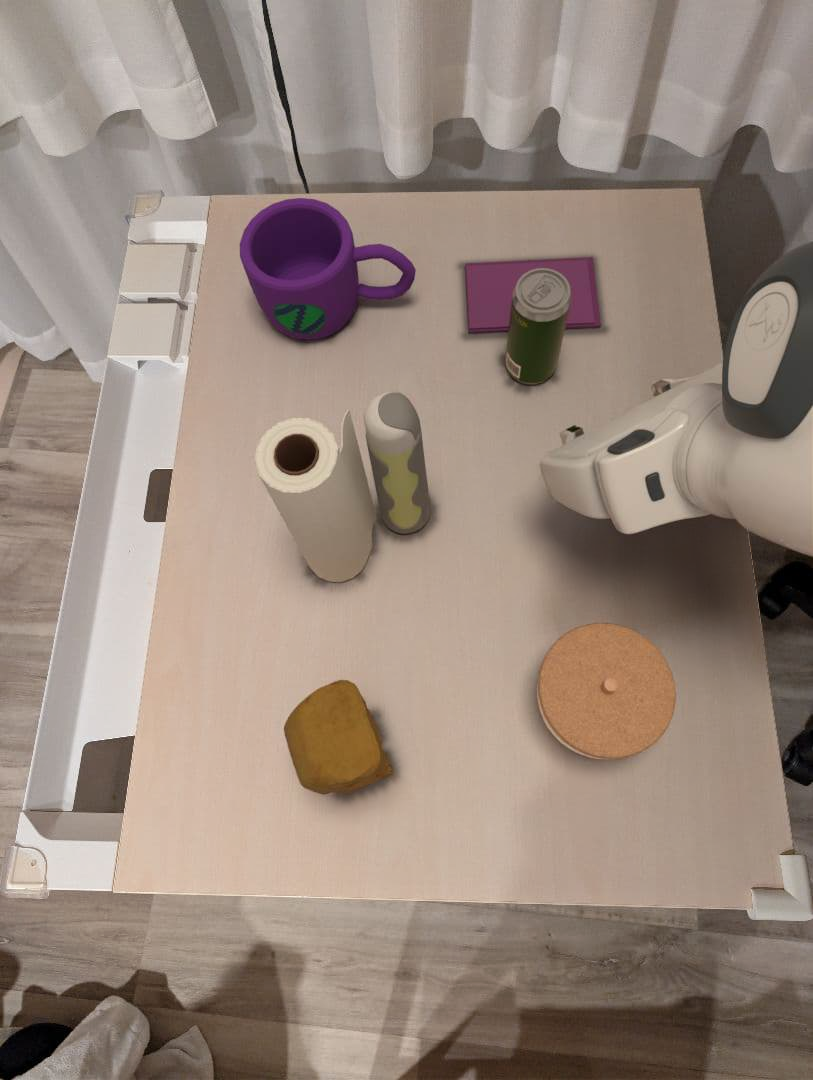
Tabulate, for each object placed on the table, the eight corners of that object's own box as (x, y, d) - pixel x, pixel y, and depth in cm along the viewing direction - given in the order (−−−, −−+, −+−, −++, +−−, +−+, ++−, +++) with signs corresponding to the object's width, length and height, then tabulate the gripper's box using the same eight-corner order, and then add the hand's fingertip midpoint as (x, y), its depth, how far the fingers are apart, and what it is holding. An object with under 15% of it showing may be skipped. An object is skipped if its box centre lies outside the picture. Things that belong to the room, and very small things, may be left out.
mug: (255, 348, 83) (230, 287, 74) (267, 263, 87) (244, 195, 78) (415, 349, 82) (411, 287, 73) (420, 263, 86) (416, 194, 77)
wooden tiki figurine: (401, 780, 67) (386, 767, 53) (329, 809, 66) (296, 803, 52) (374, 704, 69) (353, 673, 55) (305, 731, 69) (266, 706, 55)
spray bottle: (379, 493, 77) (354, 384, 58) (427, 487, 76) (418, 376, 58) (383, 538, 75) (359, 441, 56) (433, 532, 75) (425, 433, 56)
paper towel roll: (310, 588, 73) (257, 498, 53) (304, 530, 76) (250, 422, 56) (385, 576, 73) (359, 481, 53) (376, 518, 76) (348, 406, 56)
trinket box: (618, 790, 65) (643, 784, 57) (507, 723, 68) (515, 707, 59) (673, 682, 68) (705, 661, 60) (565, 622, 71) (581, 592, 62)
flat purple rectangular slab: (592, 259, 85) (593, 254, 84) (600, 327, 82) (601, 323, 81) (465, 265, 86) (465, 261, 85) (468, 333, 83) (468, 329, 82)
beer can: (532, 396, 79) (545, 325, 68) (493, 365, 81) (500, 291, 70) (567, 364, 80) (585, 288, 69) (528, 334, 82) (540, 256, 71)
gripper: (825, 344, 56) (704, 329, 68) (582, 471, 54) (504, 431, 66) (837, 422, 58) (719, 393, 71) (607, 546, 56) (527, 494, 69)
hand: (613, 412), depth 68 cm, fingers open, 8 cm apart
